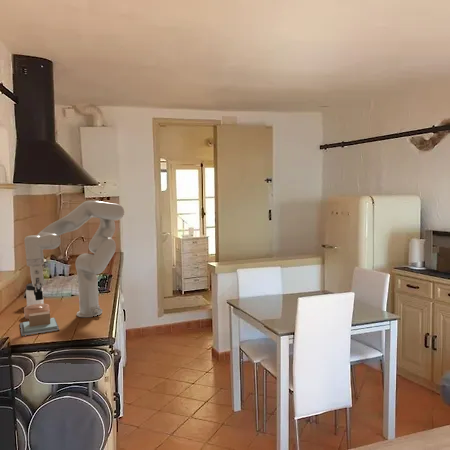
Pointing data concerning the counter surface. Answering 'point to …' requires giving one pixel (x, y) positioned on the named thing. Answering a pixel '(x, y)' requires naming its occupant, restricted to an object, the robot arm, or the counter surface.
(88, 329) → the counter surface
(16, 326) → the counter surface
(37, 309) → the bowl
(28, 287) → the jar
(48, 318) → the cover
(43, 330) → the mat
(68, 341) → the counter surface
